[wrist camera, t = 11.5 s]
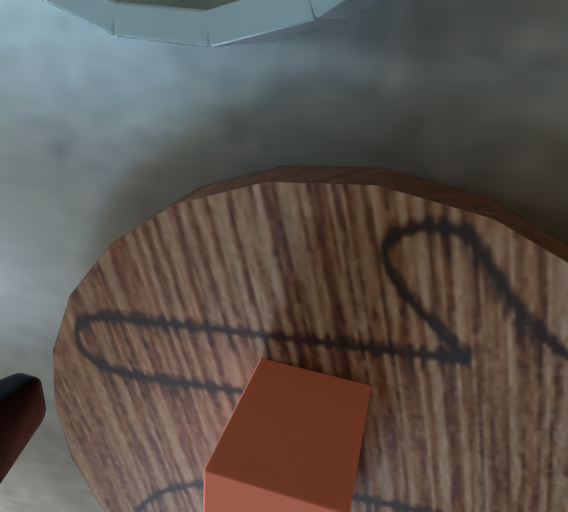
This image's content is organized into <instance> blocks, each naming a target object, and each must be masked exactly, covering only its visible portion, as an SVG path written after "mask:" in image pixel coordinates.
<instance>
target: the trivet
mask: <svg viewBox="0 0 568 512" xmlns="http://www.w3.org/2000/svg"><path fill="white" fill-rule="evenodd" d="M261 358H263V359H267V360H271V361H275V362H279V363H283V364H287V365H291V366H295V367H299V368H303V369H307V370H311V371H315V372H319V373H323V374H327V375H331V376H335V377H339V378H343V379H347V380H351V381H355V382H359V383H363V384H367V385H369V386H370V388H371V389H370V395H369V401H368V407H367V413H366V419H365V425H364V431H363V437H362V443H361V449H360V455H359V461H358V467H357V473H356V479H355V485H354V492H353V498H352V504H351V510H350V512H568V245H567V244H565V243H563V242H562V241H560V240H558V239H556V238H555V237H553V236H551V235H550V234H548V233H546V232H545V231H543V230H541V229H540V228H538V227H536V226H534V225H533V224H531V223H529V222H528V221H526V220H524V219H523V218H521V217H519V216H518V215H516V214H514V213H512V212H511V211H509V210H507V209H506V208H504V207H502V206H501V205H499V204H497V203H496V202H494V201H492V200H491V199H489V198H487V197H484V196H480V195H477V194H473V193H470V192H466V191H463V190H459V189H456V188H452V187H449V186H445V185H442V184H438V183H435V182H431V181H428V180H424V179H420V178H417V177H413V176H410V175H406V174H403V173H399V172H396V171H392V170H389V169H385V168H367V167H320V166H280V167H276V168H272V169H269V170H265V171H261V172H257V173H253V174H249V175H245V176H241V177H237V178H233V179H230V180H226V181H222V182H218V183H214V184H210V185H206V186H202V187H199V188H198V189H196V190H194V191H193V192H191V193H190V194H188V195H186V196H185V197H183V198H181V199H180V200H178V201H177V202H175V203H173V204H172V205H170V206H169V207H167V208H165V209H164V210H162V211H161V212H159V213H157V214H156V215H154V216H153V217H151V218H149V219H148V220H146V221H145V222H143V223H141V224H140V225H138V226H137V227H135V228H134V229H132V230H131V231H129V232H128V233H126V234H125V235H123V236H122V237H120V238H119V239H118V240H116V241H115V242H113V243H112V244H110V245H109V246H108V248H107V249H106V250H105V251H104V253H103V254H102V255H101V257H100V258H99V259H98V260H97V262H96V263H95V264H94V265H93V267H92V268H91V269H90V271H89V272H88V273H87V274H86V276H85V277H84V278H83V280H82V281H81V282H80V283H79V285H78V286H77V287H76V289H75V290H74V291H73V292H72V294H71V295H70V297H69V300H68V303H67V307H66V310H65V313H64V317H63V320H62V323H61V326H60V330H59V333H58V336H57V339H56V343H55V346H54V349H53V364H54V391H55V407H56V410H57V413H58V416H59V420H60V423H61V426H62V429H63V432H64V435H65V438H66V441H67V444H68V447H69V450H70V453H71V457H72V459H73V461H74V462H75V464H76V466H77V467H78V469H79V471H80V472H81V474H82V476H83V477H84V479H85V481H86V482H87V484H88V486H89V487H90V489H91V491H92V493H93V494H94V496H95V498H96V499H97V501H98V503H99V504H100V506H101V507H102V508H103V510H104V511H105V512H203V498H204V467H205V465H206V463H207V462H208V460H209V458H210V456H211V454H212V452H213V450H214V448H215V446H216V444H217V442H218V440H219V438H220V436H221V434H222V432H223V430H224V428H225V426H226V424H227V422H228V421H229V419H230V417H231V415H232V413H233V411H234V409H235V407H236V405H237V403H238V401H239V399H240V397H241V395H242V393H243V391H244V389H245V387H246V385H247V383H248V381H249V379H250V378H251V376H252V374H253V372H254V370H255V368H256V366H257V364H258V362H259V360H260V359H261Z"/></svg>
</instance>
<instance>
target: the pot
mask: <svg viewBox="0 0 568 512" xmlns="http://www.w3.org/2000/svg"><path fill="white" fill-rule="evenodd" d="M43 1H45V2H47V3H49V4H51V5H53V6H55V7H57V8H59V9H61V10H63V11H65V12H67V13H69V14H71V15H73V16H75V17H77V18H79V19H81V20H83V21H85V22H87V23H89V24H91V25H93V26H95V27H97V28H99V29H101V30H103V31H105V32H107V33H109V34H111V35H116V36H118V37H124V38H132V39H141V40H150V41H158V42H167V43H176V44H184V45H193V46H202V47H220V46H230V45H240V44H250V43H261V42H271V41H276V40H280V39H284V38H288V37H292V36H296V35H301V34H305V33H308V32H312V31H316V30H320V29H323V28H327V27H331V26H335V25H339V24H343V23H347V22H348V21H349V20H353V19H354V18H356V17H357V16H359V15H360V14H362V13H364V12H365V11H367V10H369V9H370V8H372V7H374V6H375V5H377V4H379V3H380V2H382V1H384V0H43Z"/></svg>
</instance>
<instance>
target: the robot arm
mask: <svg viewBox="0 0 568 512" xmlns="http://www.w3.org/2000/svg"><path fill="white" fill-rule="evenodd" d="M45 412H46V406H45V400H44V395H43V389H42V384H41V381H40V380H39V378H37V377H34V376H31V375H28V374H24V373H16V374H13V375H11V376H8V377H6V378H3V379H1V380H0V483H1V482H2V480H3V479H4V477H5V476H6V474H7V473H8V471H9V470H10V468H11V467H12V465H13V464H14V462H15V461H16V460H17V458H18V457H19V455H20V454H21V452H22V451H23V449H24V448H25V446H26V445H27V443H28V442H29V440H30V439H31V437H32V436H33V434H34V433H35V431H36V430H37V428H38V427H39V425H40V424H41V422H42V420H43V418H44V416H45Z"/></svg>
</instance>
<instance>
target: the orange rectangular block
mask: <svg viewBox="0 0 568 512" xmlns="http://www.w3.org/2000/svg"><path fill="white" fill-rule="evenodd" d="M370 389H371V388H370V386H369V385H367V384H363V383H359V382H355V381H351V380H347V379H343V378H339V377H335V376H331V375H327V374H323V373H319V372H315V371H311V370H307V369H303V368H299V367H295V366H291V365H287V364H283V363H279V362H275V361H271V360H267V359H263V358H261V359H260V360H259V362H258V364H257V366H256V368H255V370H254V372H253V374H252V376H251V378H250V379H249V381H248V383H247V385H246V387H245V389H244V391H243V393H242V395H241V397H240V399H239V401H238V403H237V405H236V407H235V409H234V411H233V413H232V415H231V417H230V419H229V421H228V422H227V424H226V426H225V428H224V430H223V432H222V434H221V436H220V438H219V440H218V442H217V444H216V446H215V448H214V450H213V452H212V454H211V456H210V458H209V460H208V462H207V463H206V465H205V467H204V498H203V512H350V510H351V504H352V498H353V492H354V485H355V479H356V473H357V467H358V461H359V455H360V449H361V443H362V437H363V431H364V425H365V419H366V413H367V407H368V401H369V395H370Z"/></svg>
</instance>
